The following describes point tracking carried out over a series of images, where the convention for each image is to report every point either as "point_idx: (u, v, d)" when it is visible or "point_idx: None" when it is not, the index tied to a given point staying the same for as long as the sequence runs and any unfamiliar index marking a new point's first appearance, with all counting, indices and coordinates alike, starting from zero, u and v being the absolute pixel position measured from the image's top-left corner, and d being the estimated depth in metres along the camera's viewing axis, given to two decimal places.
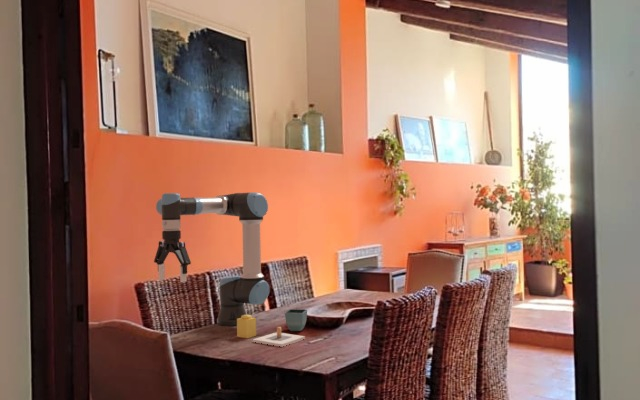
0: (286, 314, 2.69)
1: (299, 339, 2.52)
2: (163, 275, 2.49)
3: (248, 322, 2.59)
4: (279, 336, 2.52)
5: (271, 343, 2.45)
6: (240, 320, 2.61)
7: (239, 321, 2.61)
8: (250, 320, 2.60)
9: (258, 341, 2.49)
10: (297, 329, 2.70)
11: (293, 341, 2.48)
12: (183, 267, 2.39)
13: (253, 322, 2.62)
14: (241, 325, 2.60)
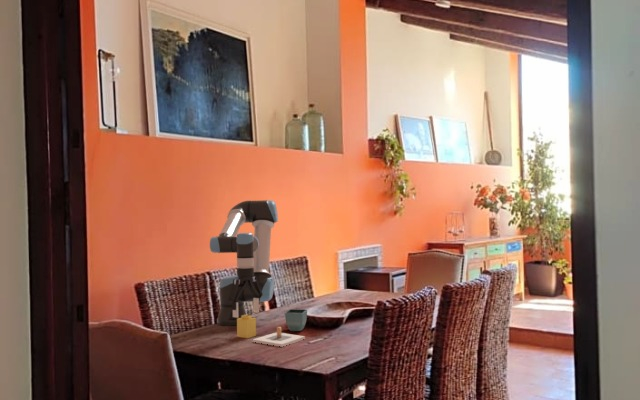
0: (286, 314, 2.69)
1: (299, 339, 2.52)
2: (256, 309, 2.67)
3: (248, 322, 2.59)
4: (279, 336, 2.52)
5: (271, 343, 2.45)
6: (240, 320, 2.61)
7: (239, 321, 2.61)
8: (250, 320, 2.60)
9: (258, 341, 2.49)
10: (297, 329, 2.70)
11: (293, 341, 2.48)
12: None
13: (253, 322, 2.62)
14: (241, 325, 2.60)
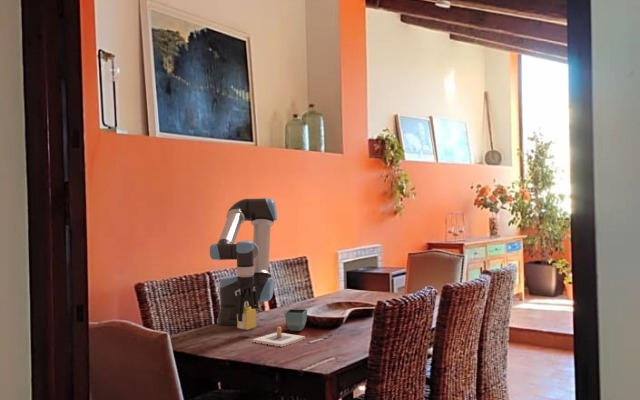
0: (286, 314, 2.69)
1: (299, 339, 2.52)
2: None
3: (248, 313, 2.60)
4: (279, 336, 2.52)
5: (271, 343, 2.45)
6: None
7: None
8: (250, 311, 2.61)
9: (258, 341, 2.49)
10: (297, 329, 2.70)
11: (293, 341, 2.48)
12: None
13: (253, 313, 2.63)
14: None
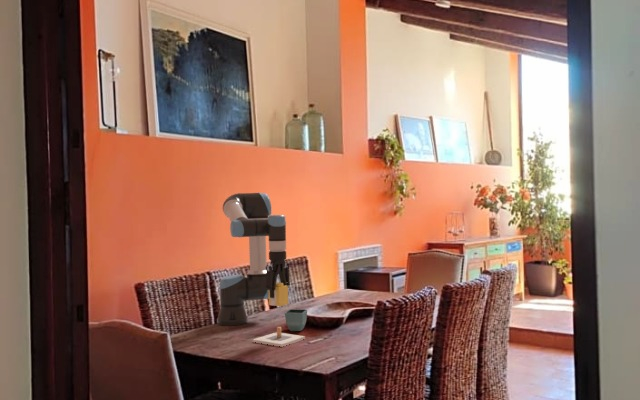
0: (286, 314, 2.69)
1: (299, 339, 2.52)
2: None
3: (280, 289, 2.50)
4: (279, 336, 2.52)
5: (271, 343, 2.45)
6: None
7: None
8: (282, 287, 2.51)
9: (258, 341, 2.49)
10: (297, 329, 2.70)
11: (293, 341, 2.48)
12: None
13: (285, 290, 2.52)
14: None
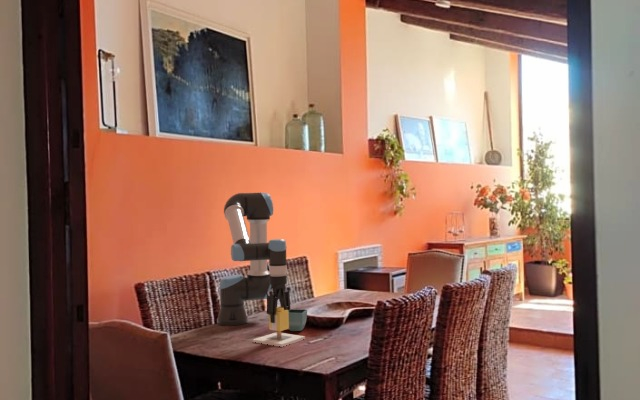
0: None
1: (299, 339, 2.52)
2: None
3: (281, 314, 2.50)
4: (279, 336, 2.52)
5: (271, 343, 2.45)
6: None
7: None
8: (283, 312, 2.51)
9: (258, 341, 2.49)
10: (297, 329, 2.70)
11: (293, 341, 2.48)
12: None
13: (286, 314, 2.52)
14: None
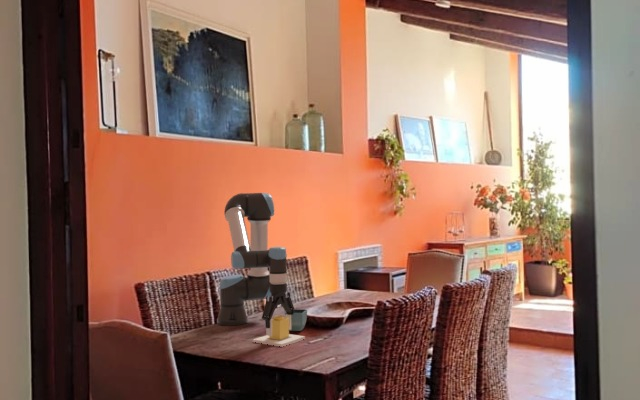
0: None
1: (299, 339, 2.52)
2: (289, 326, 2.58)
3: (281, 323, 2.50)
4: None
5: (271, 343, 2.45)
6: (273, 321, 2.51)
7: None
8: (283, 321, 2.51)
9: (258, 341, 2.49)
10: (297, 329, 2.70)
11: (293, 341, 2.48)
12: None
13: (286, 323, 2.52)
14: (273, 326, 2.51)
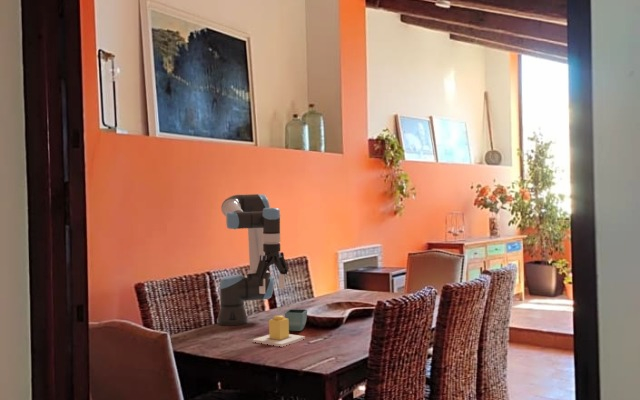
0: (286, 314, 2.69)
1: (299, 339, 2.52)
2: (282, 285, 2.62)
3: (281, 323, 2.50)
4: None
5: (271, 343, 2.45)
6: (273, 321, 2.51)
7: (271, 322, 2.51)
8: (283, 321, 2.51)
9: (258, 341, 2.49)
10: (297, 329, 2.70)
11: (293, 341, 2.48)
12: None
13: (286, 323, 2.52)
14: (273, 326, 2.51)
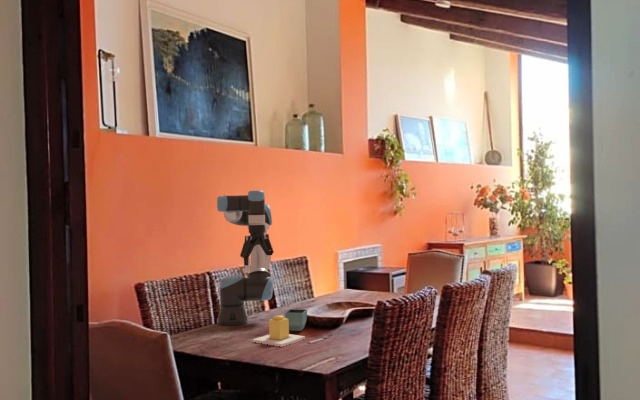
0: (286, 314, 2.69)
1: (299, 339, 2.52)
2: (268, 266, 2.71)
3: (281, 323, 2.50)
4: None
5: (271, 343, 2.45)
6: (273, 321, 2.51)
7: (271, 322, 2.51)
8: (283, 321, 2.51)
9: (258, 341, 2.49)
10: (297, 329, 2.70)
11: (293, 341, 2.48)
12: None
13: (286, 323, 2.52)
14: (273, 326, 2.51)
